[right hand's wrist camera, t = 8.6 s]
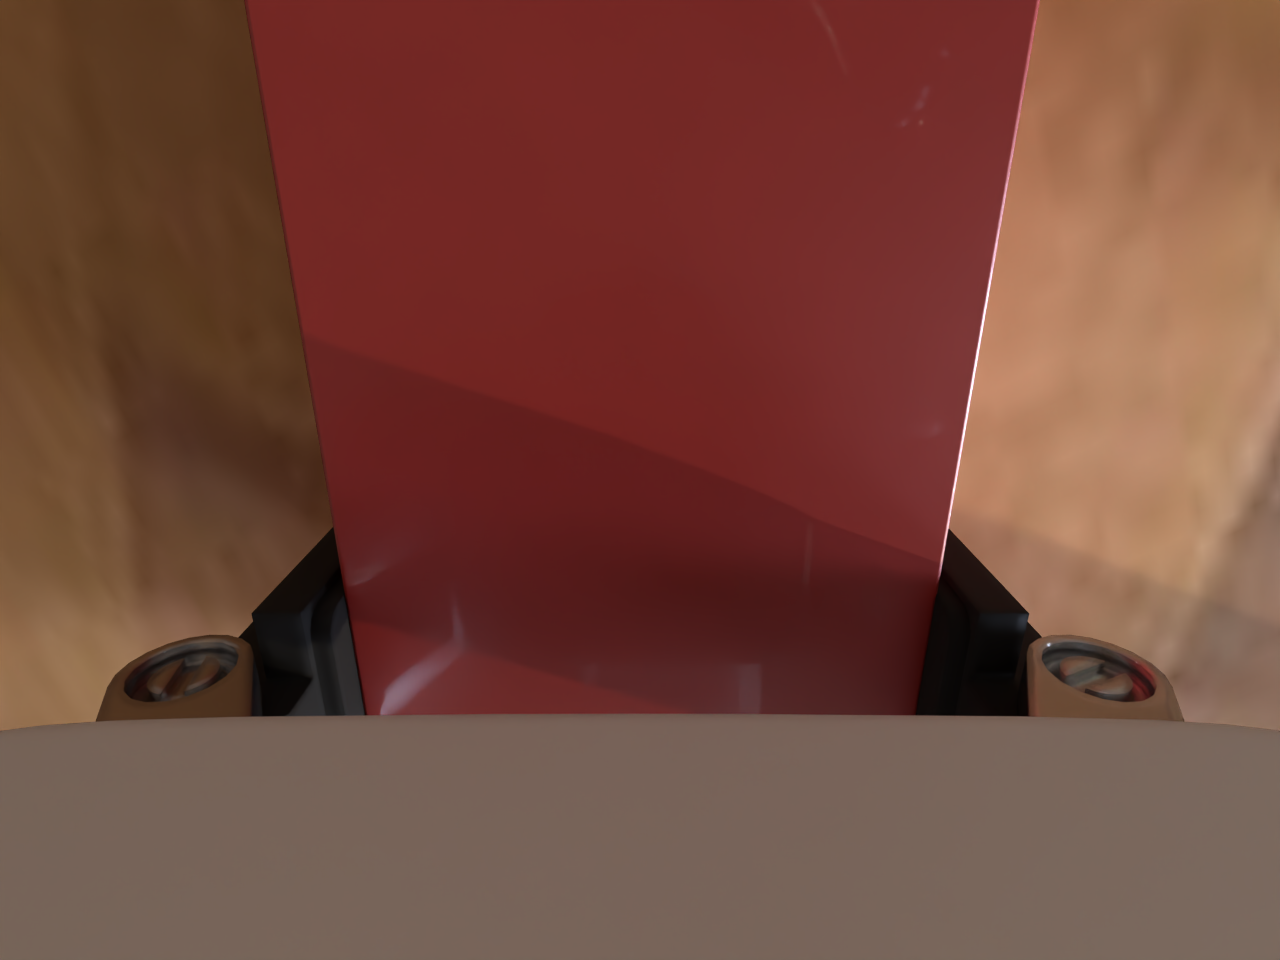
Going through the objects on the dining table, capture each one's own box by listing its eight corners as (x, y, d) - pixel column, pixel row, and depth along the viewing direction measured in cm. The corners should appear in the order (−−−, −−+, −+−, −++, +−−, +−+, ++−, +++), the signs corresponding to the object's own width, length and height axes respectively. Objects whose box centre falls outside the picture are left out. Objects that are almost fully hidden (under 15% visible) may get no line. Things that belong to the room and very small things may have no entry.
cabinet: (406, -578, 10) (-214, -2663, 3) (876, -576, 10) (1506, -2649, 3) (503, 642, 17) (405, 960, 10) (775, 642, 17) (875, 960, 10)
